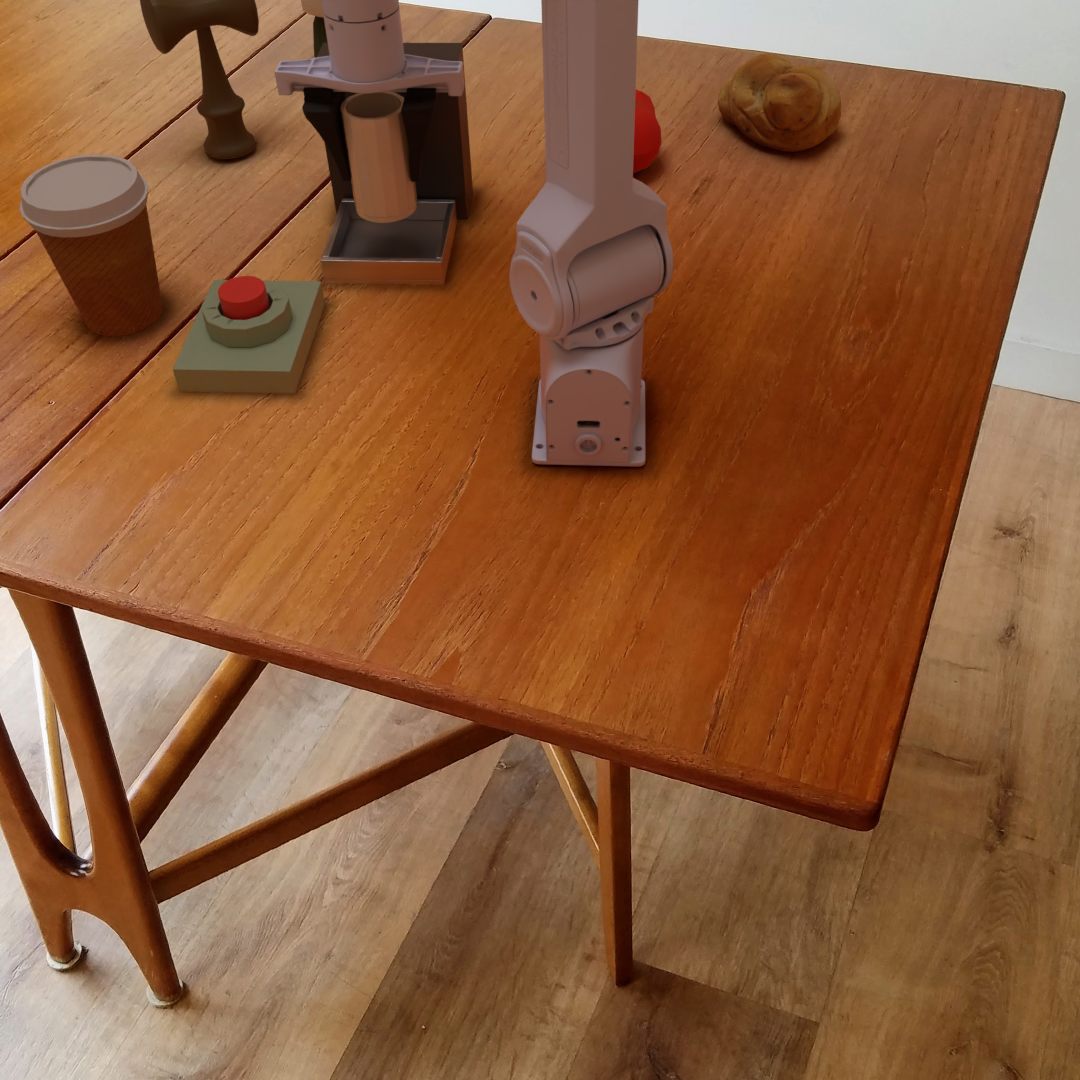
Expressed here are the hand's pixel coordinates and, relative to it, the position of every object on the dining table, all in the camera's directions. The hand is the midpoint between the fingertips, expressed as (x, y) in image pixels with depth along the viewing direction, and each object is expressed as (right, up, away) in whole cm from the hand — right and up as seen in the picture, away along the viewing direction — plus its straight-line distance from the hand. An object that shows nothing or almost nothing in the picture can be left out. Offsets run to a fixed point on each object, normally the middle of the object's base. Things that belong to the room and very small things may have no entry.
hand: (383, 175), depth 96 cm
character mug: (-9, +22, +32) cm, 39 cm away
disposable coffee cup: (-21, -12, 0) cm, 24 cm away
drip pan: (0, -5, +5) cm, 7 cm away
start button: (-10, -12, -7) cm, 17 cm away
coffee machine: (+1, +1, +11) cm, 11 cm away
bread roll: (+37, +10, +19) cm, 43 cm away
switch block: (-10, -15, -4) cm, 18 cm away
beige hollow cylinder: (0, -2, +2) cm, 3 cm away
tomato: (+19, +6, +15) cm, 25 cm away
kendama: (-18, +8, +19) cm, 27 cm away
